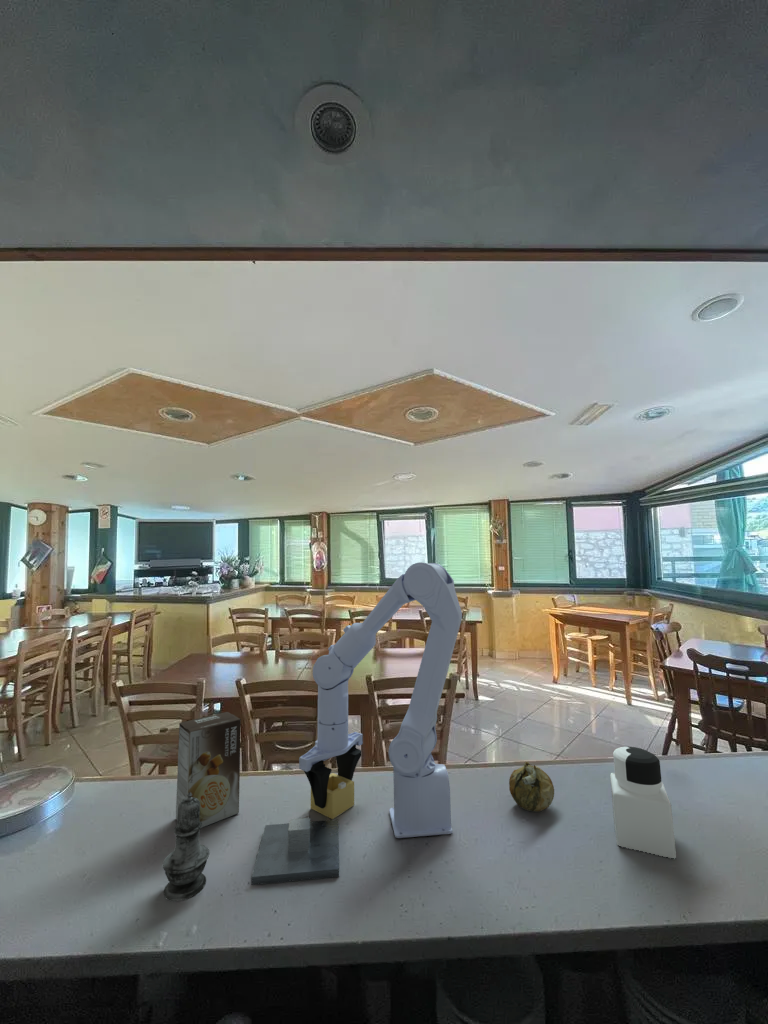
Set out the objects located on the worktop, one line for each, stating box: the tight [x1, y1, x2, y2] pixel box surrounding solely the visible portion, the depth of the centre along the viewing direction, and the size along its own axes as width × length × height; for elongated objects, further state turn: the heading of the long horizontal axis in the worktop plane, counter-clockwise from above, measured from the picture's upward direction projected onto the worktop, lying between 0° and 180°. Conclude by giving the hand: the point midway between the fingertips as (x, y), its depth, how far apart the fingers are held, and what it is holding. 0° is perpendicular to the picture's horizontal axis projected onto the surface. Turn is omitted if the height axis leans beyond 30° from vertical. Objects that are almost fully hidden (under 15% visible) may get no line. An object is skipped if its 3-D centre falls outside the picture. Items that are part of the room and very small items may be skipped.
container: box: [609, 746, 677, 860], centre depth 68 cm, size 8×8×13 cm
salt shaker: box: [162, 792, 211, 902], centre depth 59 cm, size 6×6×12 cm
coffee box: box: [175, 711, 242, 829], centre depth 75 cm, size 9×6×16 cm
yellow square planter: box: [310, 772, 355, 820], centre depth 77 cm, size 6×6×5 cm
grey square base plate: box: [250, 817, 340, 886], centre depth 65 cm, size 12×12×4 cm
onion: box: [508, 761, 555, 813], centre depth 77 cm, size 8×8×8 cm
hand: (332, 798), depth 77 cm, fingers closed on yellow square planter, 6 cm apart
